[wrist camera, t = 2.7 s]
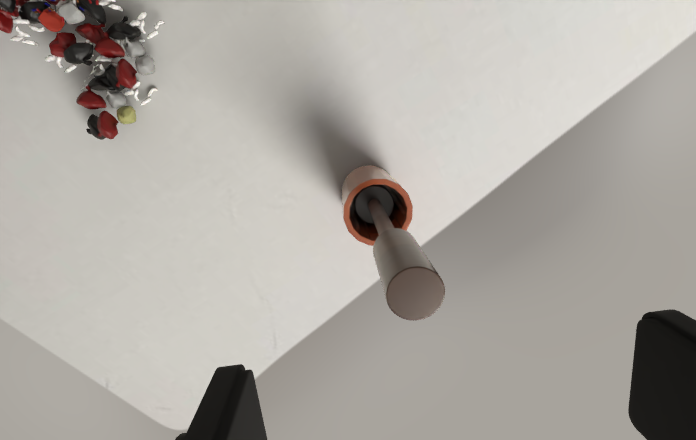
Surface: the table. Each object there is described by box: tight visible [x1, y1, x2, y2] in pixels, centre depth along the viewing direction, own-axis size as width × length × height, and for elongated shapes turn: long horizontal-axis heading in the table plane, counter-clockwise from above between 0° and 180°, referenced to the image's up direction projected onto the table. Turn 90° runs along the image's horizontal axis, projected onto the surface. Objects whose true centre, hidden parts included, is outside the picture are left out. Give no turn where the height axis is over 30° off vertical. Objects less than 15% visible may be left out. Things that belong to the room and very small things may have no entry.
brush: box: [353, 184, 445, 320], centre depth 23 cm, size 3×3×20 cm
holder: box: [342, 165, 413, 245], centre depth 30 cm, size 5×5×8 cm
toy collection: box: [0, 0, 165, 140], centre depth 27 cm, size 15×14×5 cm
